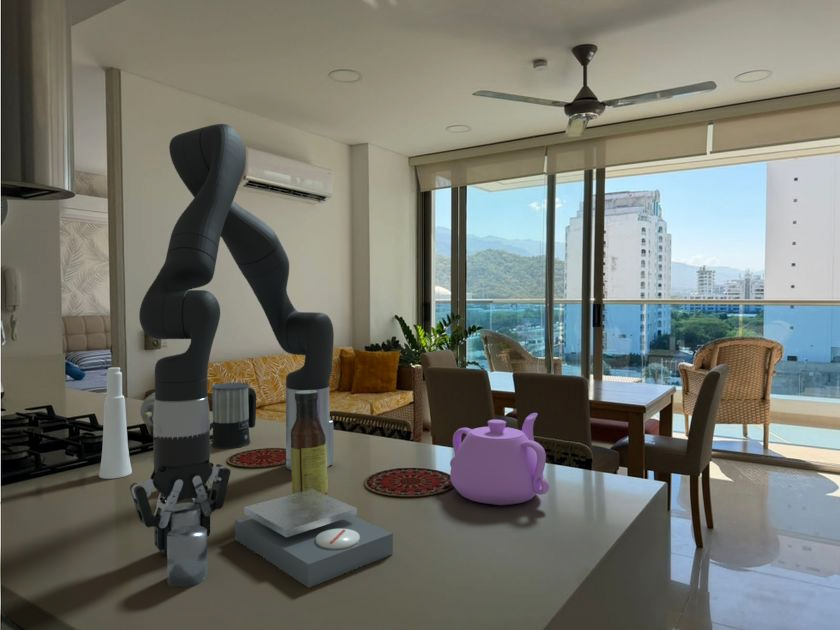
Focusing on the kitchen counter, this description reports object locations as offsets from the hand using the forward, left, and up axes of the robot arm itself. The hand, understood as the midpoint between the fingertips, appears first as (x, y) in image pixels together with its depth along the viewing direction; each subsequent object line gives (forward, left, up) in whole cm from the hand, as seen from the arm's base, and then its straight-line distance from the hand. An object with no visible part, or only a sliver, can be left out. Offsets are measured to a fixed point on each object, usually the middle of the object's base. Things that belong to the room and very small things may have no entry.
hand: (182, 545), depth 84 cm
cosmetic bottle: (-4, -45, -1) cm, 45 cm away
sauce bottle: (-24, -4, -1) cm, 24 cm away
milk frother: (-32, -56, -1) cm, 65 cm away
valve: (-11, -24, -1) cm, 26 cm away
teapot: (-54, +16, -1) cm, 56 cm away
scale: (-14, +12, -1) cm, 18 cm away
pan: (-14, +9, +3) cm, 17 cm away
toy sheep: (-25, -78, -1) cm, 82 cm away
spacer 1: (0, 0, -1) cm, 1 cm away
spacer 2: (+3, +9, -1) cm, 10 cm away
